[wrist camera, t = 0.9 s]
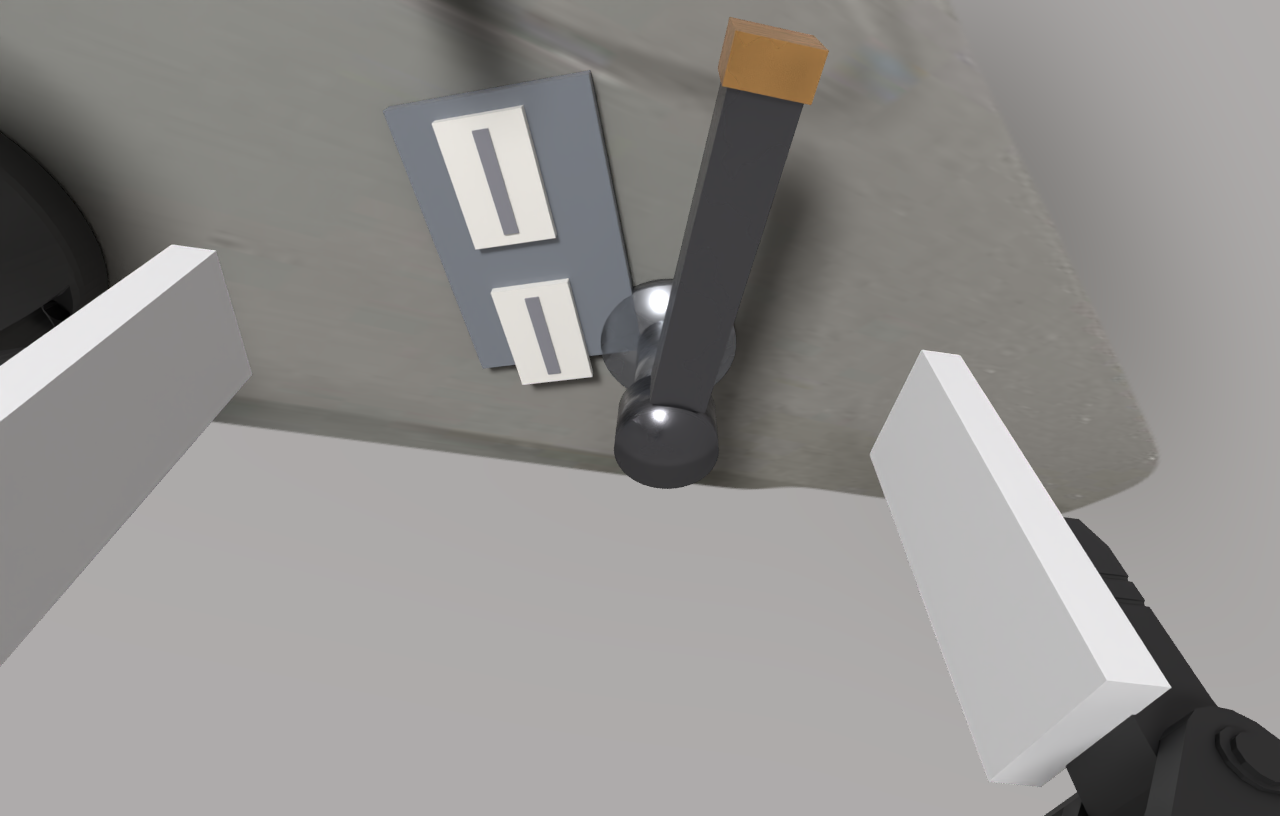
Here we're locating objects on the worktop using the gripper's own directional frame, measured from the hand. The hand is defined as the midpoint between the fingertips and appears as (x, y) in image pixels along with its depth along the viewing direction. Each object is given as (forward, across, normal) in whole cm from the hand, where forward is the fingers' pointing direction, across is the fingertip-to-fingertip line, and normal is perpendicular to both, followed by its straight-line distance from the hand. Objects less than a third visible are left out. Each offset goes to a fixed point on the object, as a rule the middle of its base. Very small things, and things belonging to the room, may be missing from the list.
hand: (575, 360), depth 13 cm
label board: (+22, -4, -8) cm, 24 cm away
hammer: (+15, +4, -6) cm, 17 cm away
